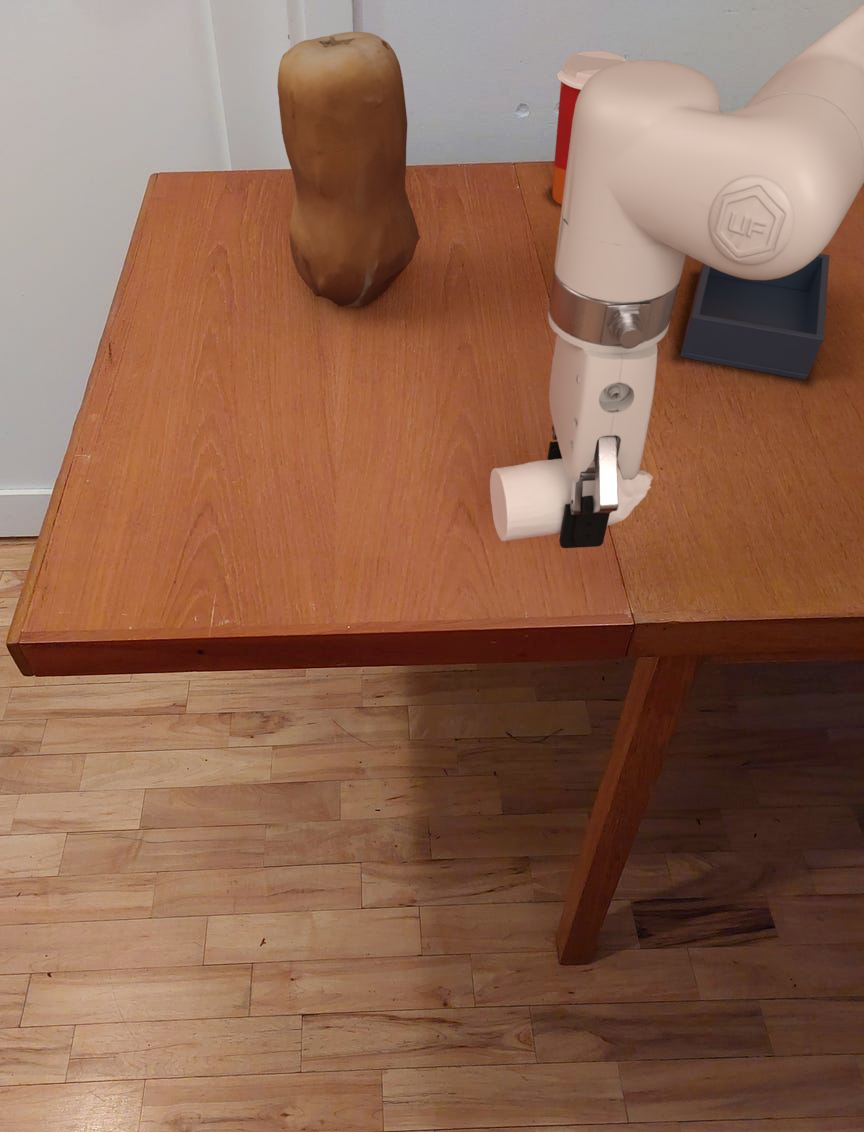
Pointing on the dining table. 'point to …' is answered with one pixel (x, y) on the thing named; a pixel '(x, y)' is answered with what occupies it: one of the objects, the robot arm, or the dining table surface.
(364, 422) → the dining table surface
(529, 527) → the roll
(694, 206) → the robot arm
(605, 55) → the coffee cup
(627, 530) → the dining table surface
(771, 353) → the tote
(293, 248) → the butternut squash
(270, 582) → the dining table surface
